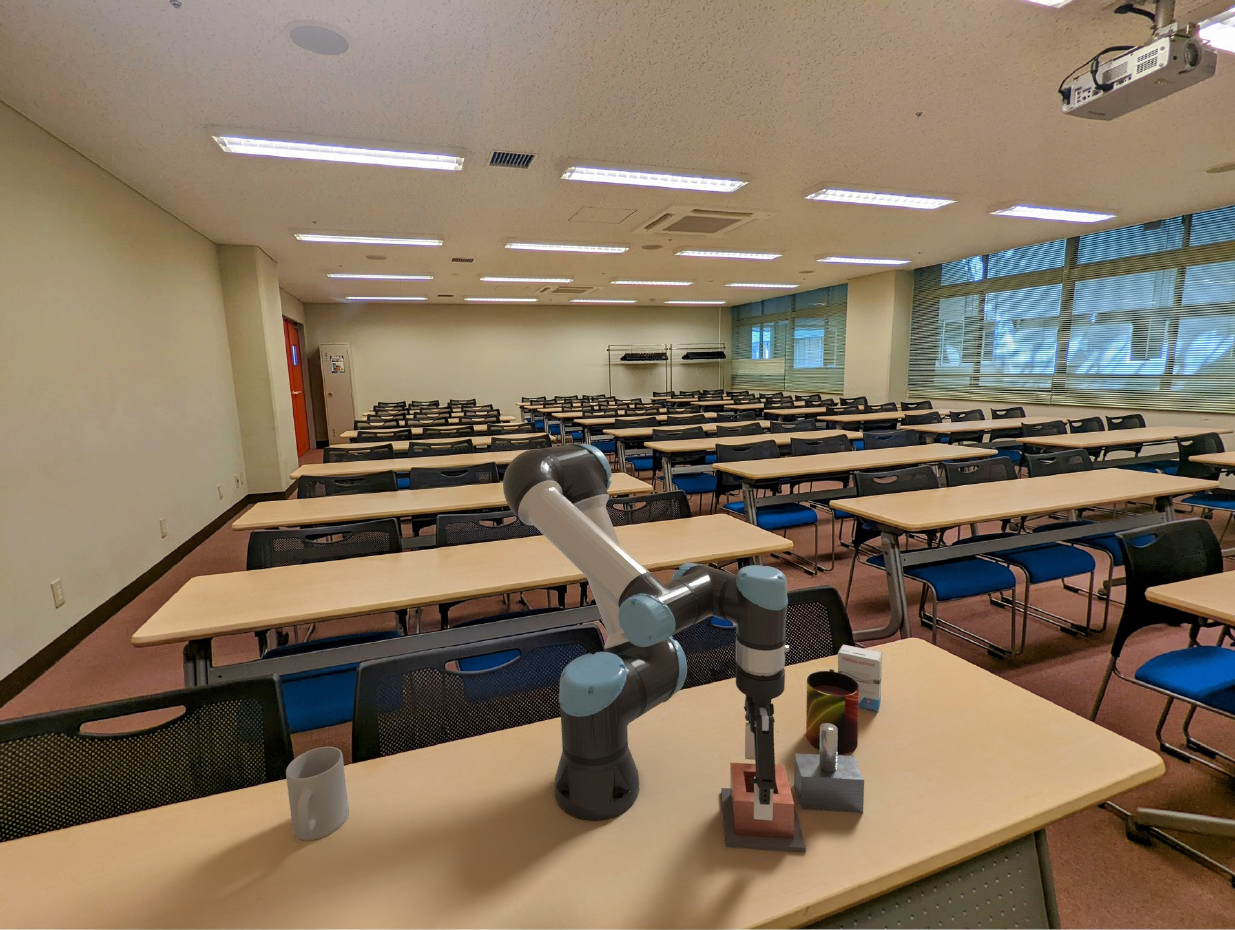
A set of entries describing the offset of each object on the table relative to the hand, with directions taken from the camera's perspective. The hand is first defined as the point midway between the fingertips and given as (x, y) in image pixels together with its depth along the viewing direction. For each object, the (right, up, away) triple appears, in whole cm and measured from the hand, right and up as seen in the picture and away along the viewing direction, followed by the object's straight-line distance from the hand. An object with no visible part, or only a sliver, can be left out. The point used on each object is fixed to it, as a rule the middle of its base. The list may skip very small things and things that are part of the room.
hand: (757, 786), depth 92 cm
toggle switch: (+13, -5, +5) cm, 15 cm away
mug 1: (-73, -8, +2) cm, 73 cm away
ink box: (+31, 0, +33) cm, 46 cm away
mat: (+1, -6, 0) cm, 6 cm away
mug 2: (+20, -2, +23) cm, 30 cm away
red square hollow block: (+1, -5, 0) cm, 5 cm away
